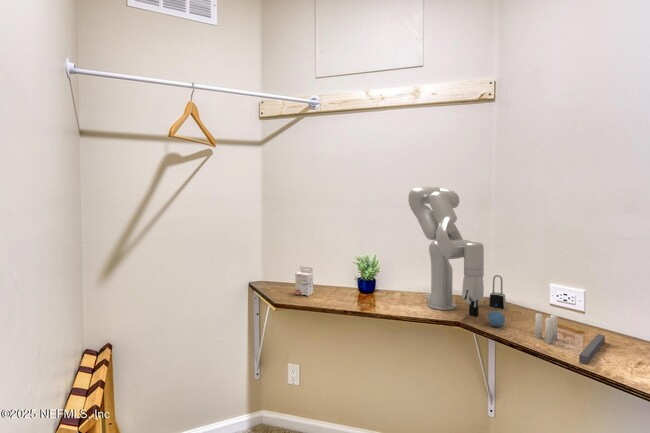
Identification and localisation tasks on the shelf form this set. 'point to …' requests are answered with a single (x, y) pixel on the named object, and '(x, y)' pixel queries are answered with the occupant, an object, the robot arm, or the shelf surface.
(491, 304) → the padlock
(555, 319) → the pin
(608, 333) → the shelf surface
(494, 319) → the ball
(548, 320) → the pin
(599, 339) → the grey long square bar
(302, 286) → the ink cartridge box
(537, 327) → the front pin
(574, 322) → the shelf surface
